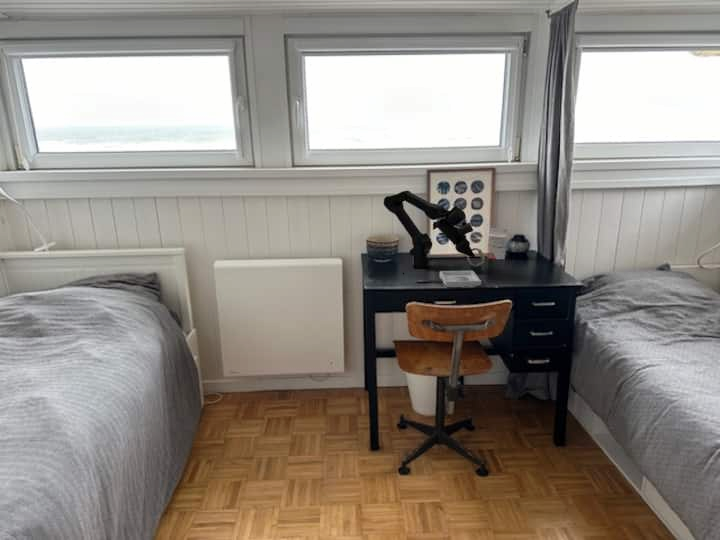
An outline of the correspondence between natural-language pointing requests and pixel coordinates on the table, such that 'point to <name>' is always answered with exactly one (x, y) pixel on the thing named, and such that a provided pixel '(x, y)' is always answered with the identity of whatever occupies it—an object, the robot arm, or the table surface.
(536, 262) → the table surface
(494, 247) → the ink cartridge box
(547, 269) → the table surface
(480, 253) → the watch
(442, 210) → the robot arm
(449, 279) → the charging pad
